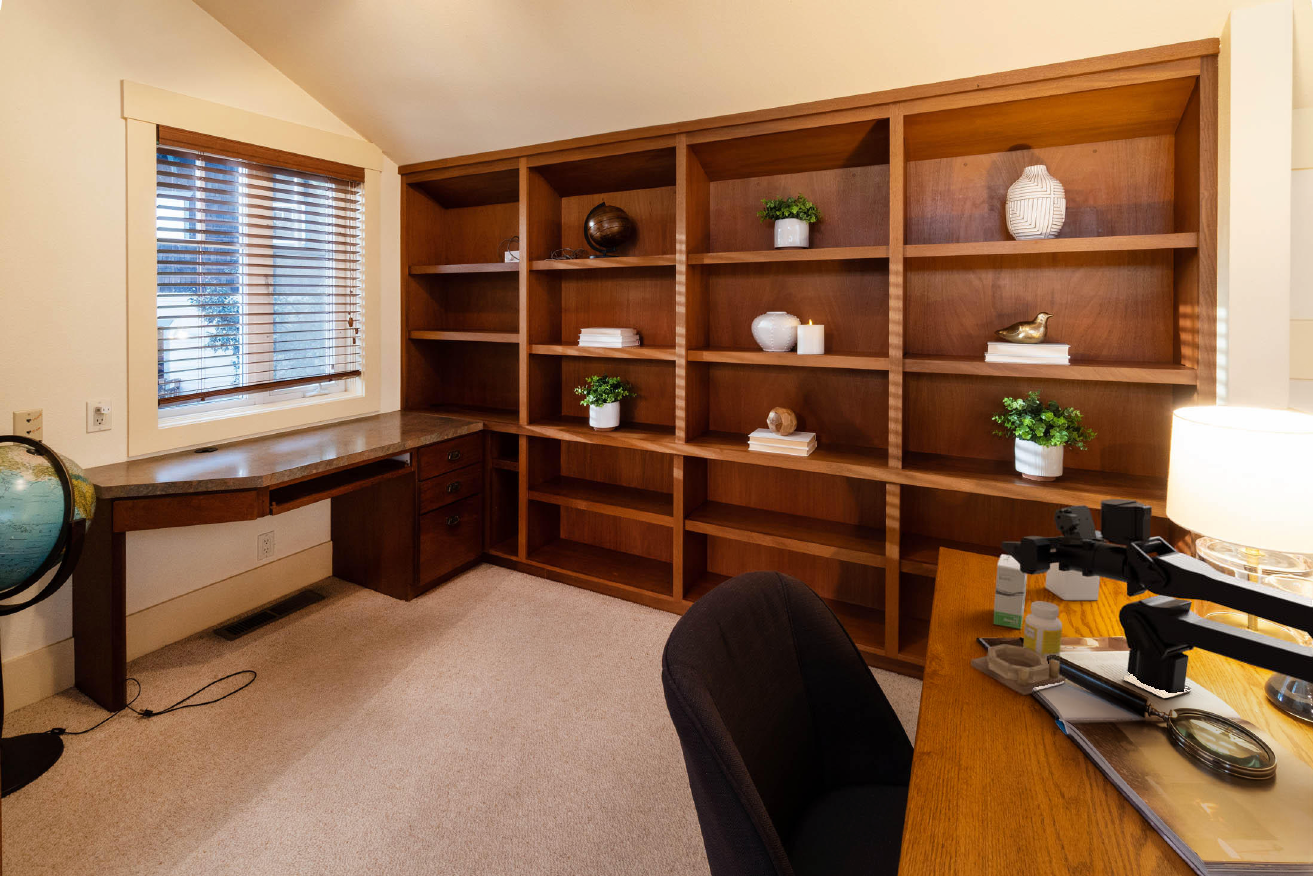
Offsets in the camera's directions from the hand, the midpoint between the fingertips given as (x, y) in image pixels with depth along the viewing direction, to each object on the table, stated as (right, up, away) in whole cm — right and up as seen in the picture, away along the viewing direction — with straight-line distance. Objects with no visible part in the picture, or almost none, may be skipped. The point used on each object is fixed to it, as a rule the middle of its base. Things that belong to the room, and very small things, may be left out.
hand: (1019, 542), depth 124 cm
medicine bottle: (+20, -14, +16) cm, 30 cm away
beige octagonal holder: (-9, -19, -16) cm, 27 cm away
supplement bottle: (-3, -18, -12) cm, 22 cm away
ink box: (0, -16, +4) cm, 17 cm away
